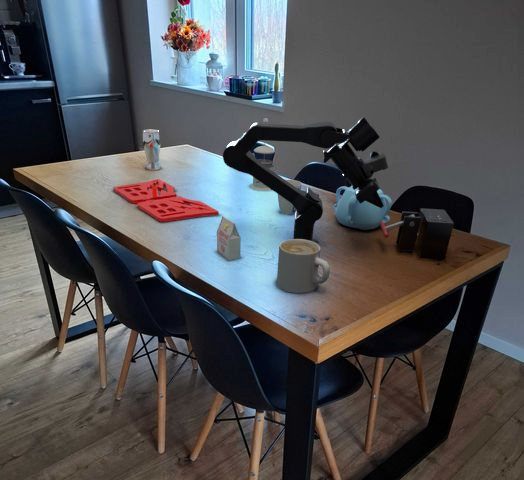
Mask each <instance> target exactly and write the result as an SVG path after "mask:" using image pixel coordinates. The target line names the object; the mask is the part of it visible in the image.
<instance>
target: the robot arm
mask: <svg viewBox="0 0 524 480" xmlns="http://www.w3.org/2000/svg"><path fill="white" fill-rule="evenodd" d="M380 138H381V136H380V135H379V134H378V132H377V131H376V129H375V128H374V126H373V125H372V124H370V122H369V121H368V120H367V118H366V117H365V116H362V117H361V118H360V119H358V121H357V122H356V123H355V124H354V125H353V126H352V127H351V128H350V129H349V130H348V129H346V128H341V127H336V125H335V124H334V123H333V122H331V121H320V122H314V123H310V124H305V125H297V124H277V123H275V124H274V123H266V124H265V123H261V122H254V123H253V124H251V126H250V127H249V128H248V130H246V132H245V133H243V135H242V136H241V137H239V138H238V139H237V140H234V141H231V142H229V143H228V144H227V146H226V147H225V148H224V150H223V153H222V160H223V163H224V164H225V165H226V167H228V168H230V169H233V170H235V171H238V172H240V173H243V174H247V175H249V176H251V177H252V178H253V177H254V178H256V179H257V180H258V181H260V182H261V183H263V184H264V185H266V186H267V187H269V188H270V189H271V190H270V191H272V192H274V193H276V194H277V195H278V194H279V195H280V196H282V197H283V198H285V199H286V200H287V201H289V202H290V203H291V204H292V205H293V206H294V207H295V209H296V211H295V213H294V225H293V236H292V237H293V238H292V239H304V240H309V241H312V242H315V243H317V242H318V240H317V239H314V238H313V237H314V229H315V228H314V227H315V223H316V222H317V221H319V220H320V219H322V216H323V214H324V208H323V207H324V206H323V201H322V199H321V197H320V194H319V193H316V192H314V191H313V190H312V189H311V188H310V187H306V190H302V189H301V190H299V189H297V188H296V187H295V186H293V185H292V184H290V183H289V182H287V181H286V180H287V179H285V178H284V177H282V176H280V175H279V174H278V173H276V172H275V171H274V172H273V171H272V170H270V169H269V168H267V167H266V166H265V165H263V164H262V163H260V162H259V161H258V160H259V159H257V157H256V156H255V157H254V155H253V153H252V151H251V149H252V148H253V147H254V146H255V145H256V144H257V143H258V142H259V141H265V142H266V141H267V142H268V141H269V142H291V143H303V144H307V145H309V146H313V147H316V148H321V149H325V150H323V158H322V160H323V161H322V162H323V163H324V164H326V163H327V162H328V161H329V160H331V161H332V163H333V164H334V165H335V166H336V167H337V169H338V170H339V171H340V172H341V173H342V177H343V178H344V179H345V180H347V181H348V182H349V184H350V185H351V186H352V188H353V189H354V190H355V189H357V188H358V189H357V190H356V193H355V196H356V199H357V200H358V201H359V203H360V204H361V203H363V202H364V201H367V202H369V203H371V204H373V205H375V206H377V207H379V208H382V207H383V206H384V205H383V203H382V201H381V199H380V196H379V194H378V192H377V191H378V190H379V189H380V185H379V183H378V181H377V178H376V177H374V178H372V177H373V176H374V174H375V173H378V172H380V171H385V170H387V169H388V168H389V165H388V161H387V156H386V155H385V153H383V152H381V153H379V152H378V151H377V150H373V151H370V154H369V157H367V159H364V160H363V158H362V157H358V155H357V154H356V153H355V151H356V152H362V153H363V152H364V151H366V149H368V148H369V147H370V146H371V145H373V144H374V143H375V142H377V141H378V140H379V139H380ZM350 145H351V146H352V147H351V146H350ZM326 149H327V150H326ZM353 149H354V150H355V151H354V150H353ZM380 190H381V189H380Z"/></svg>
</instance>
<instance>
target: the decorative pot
mask: <svg viewBox="0 0 524 480" xmlns="http://www.w3.org/2000/svg"><path fill="white" fill-rule="evenodd" d="M357 189H358V188H357ZM357 189H355V190H354V189H353V188H352V185H351V186H349V187H348V186H346V185H344V186H340V187H337V189H336V192H335V199H336V203H335V204H334V205H333V206H332V207H333V211H334V212H335V217H336V220H337V221H338V223H340V224H342V225H343V226H347V227H349V228H350V227H351V228H354V229H360V230H361V231H368V230H374V229H376V228H378V227H381V225H380V222H381V221H383V222H384V224H385V225H386V224H389V223H390V221H391V217H390V216H389V215H388V213H389V212H390V210H391V208H392V206H393V201H392V199H391V197H390V196H389V195H387V194H384V191H383V190H382V189H379V190H378V191H377V192H378V194H379V196H380V199H381V201H382V203H383V205H384V206H383V207H382V208H379V207H377V206H375V205H373V204H371V203H369V202H367V201H364V202H363V203H361V204H360V203H359V201H358V200H357V199H356V196H355V193H356V190H357ZM342 190H343V191H344V192H343V194H341V191H342Z"/></svg>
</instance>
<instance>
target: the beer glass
mask: <svg viewBox="0 0 524 480" xmlns="http://www.w3.org/2000/svg"><path fill="white" fill-rule="evenodd" d="M142 145H143V149H144V154H145V158H146V166H145V168H146V170H147V171H158V170H161V169H162V167H161V162H160V155H161V137H160V130H159V129H152V128H151V129H149V128H147V129H142Z"/></svg>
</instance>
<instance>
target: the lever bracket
mask: <svg viewBox="0 0 524 480" xmlns="http://www.w3.org/2000/svg"><path fill="white" fill-rule="evenodd" d="M412 214H414V216H409V215H412ZM418 216H419V212H417V211H406V210H405V211H404V210H403V211H402V212H401V217H400V221H399V222H401V221H403V226H400V227H398V231H397V236H396V241H395V244H396V247H397V249H398V253H400V254H413V251H414V250H415V247H414V246H415V242H416V237H417V233H418V228H419V224H420V219H421V218H420V217H418Z"/></svg>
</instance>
